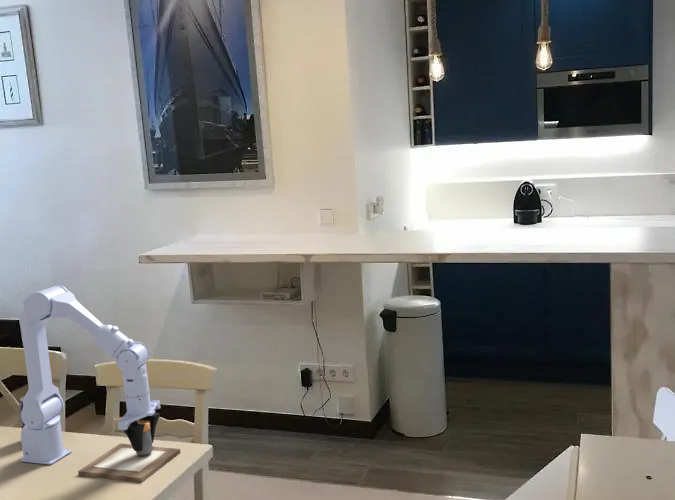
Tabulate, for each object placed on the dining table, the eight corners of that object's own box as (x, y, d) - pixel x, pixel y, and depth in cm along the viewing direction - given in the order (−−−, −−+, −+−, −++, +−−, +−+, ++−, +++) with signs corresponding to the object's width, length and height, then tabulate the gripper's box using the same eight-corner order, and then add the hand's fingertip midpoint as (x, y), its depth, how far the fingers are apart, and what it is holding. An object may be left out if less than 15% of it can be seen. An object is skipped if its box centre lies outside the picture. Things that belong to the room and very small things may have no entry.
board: (78, 475, 171) (77, 470, 171) (120, 447, 186) (120, 442, 186) (142, 482, 165) (141, 477, 165) (180, 452, 180) (179, 448, 179)
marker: (132, 457, 176) (128, 425, 175) (142, 449, 180) (139, 419, 179) (146, 458, 175) (142, 427, 173) (156, 451, 178) (153, 420, 177)
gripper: (132, 405, 167) (139, 460, 169) (168, 384, 180) (173, 435, 182) (107, 403, 169) (114, 458, 171) (144, 383, 183) (150, 434, 185)
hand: (143, 446), depth 177 cm, fingers closed on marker, 4 cm apart
